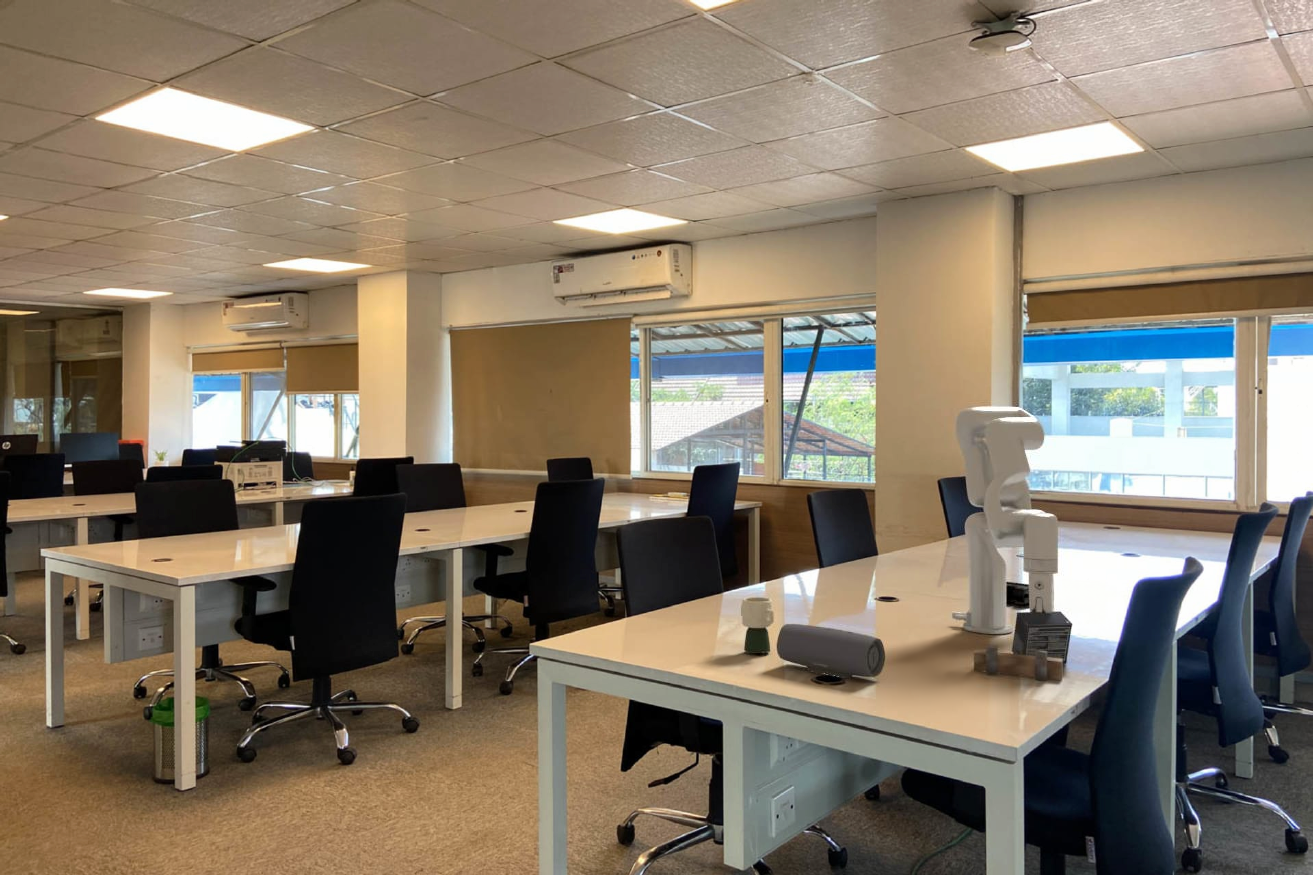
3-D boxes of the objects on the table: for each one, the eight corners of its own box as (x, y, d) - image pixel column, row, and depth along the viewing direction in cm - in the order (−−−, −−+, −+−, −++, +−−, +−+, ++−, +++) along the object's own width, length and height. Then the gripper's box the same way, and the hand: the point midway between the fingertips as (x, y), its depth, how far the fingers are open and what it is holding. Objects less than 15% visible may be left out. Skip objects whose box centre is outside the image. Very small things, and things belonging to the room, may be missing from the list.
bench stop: (972, 672, 200) (972, 645, 200) (975, 667, 205) (975, 640, 205) (1061, 683, 192) (1061, 654, 192) (1062, 676, 197) (1062, 649, 197)
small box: (1054, 649, 213) (1061, 609, 210) (1067, 664, 207) (1074, 624, 204) (1010, 649, 213) (1016, 610, 210) (1021, 665, 207) (1028, 625, 203)
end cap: (1037, 605, 278) (1037, 583, 278) (1026, 608, 273) (1026, 586, 273) (1006, 601, 285) (1006, 579, 285) (995, 604, 281) (995, 582, 280)
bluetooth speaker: (886, 678, 197) (886, 632, 197) (865, 687, 190) (865, 639, 190) (797, 661, 212) (797, 618, 212) (775, 668, 205) (775, 624, 205)
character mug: (783, 655, 217) (783, 600, 217) (762, 659, 213) (762, 604, 213) (752, 646, 226) (752, 594, 226) (731, 650, 221) (730, 597, 221)
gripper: (1056, 571, 205) (1056, 651, 206) (1059, 562, 219) (1059, 638, 219) (1020, 568, 209) (1020, 648, 209) (1025, 560, 222) (1025, 635, 222)
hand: (1040, 643), depth 214 cm, fingers closed
